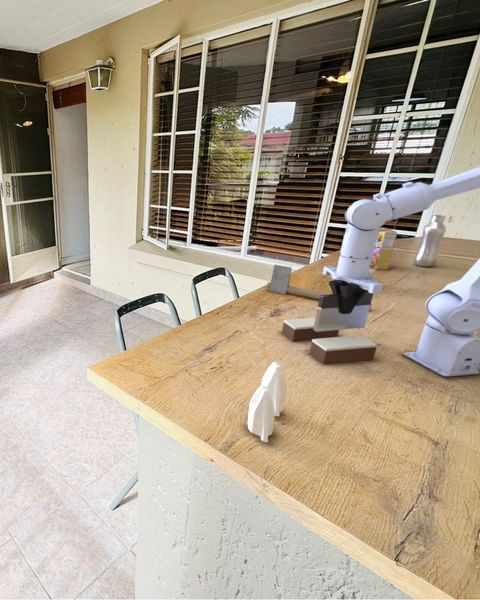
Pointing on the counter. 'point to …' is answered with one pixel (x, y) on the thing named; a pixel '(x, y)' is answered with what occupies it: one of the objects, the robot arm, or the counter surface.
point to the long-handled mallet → (282, 284)
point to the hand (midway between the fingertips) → (342, 311)
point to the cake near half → (342, 349)
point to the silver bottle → (431, 241)
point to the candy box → (383, 248)
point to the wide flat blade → (333, 319)
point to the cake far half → (304, 330)
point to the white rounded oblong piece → (371, 273)
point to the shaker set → (267, 402)
